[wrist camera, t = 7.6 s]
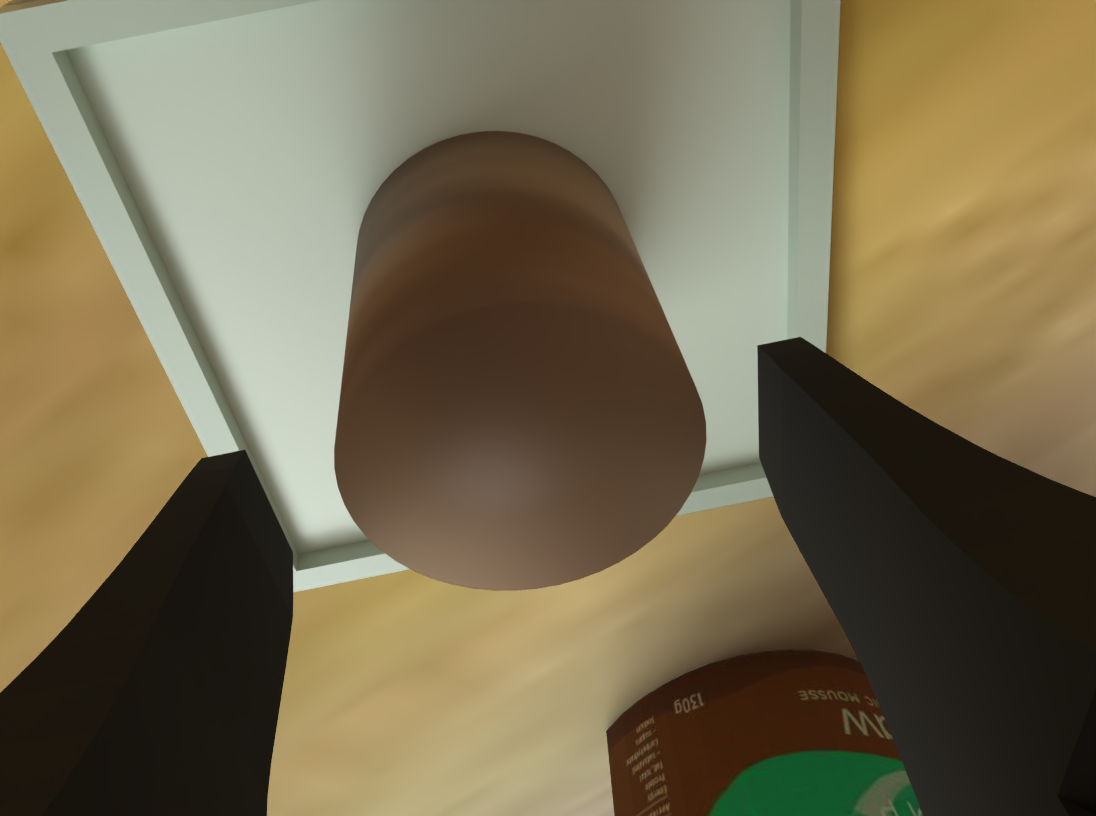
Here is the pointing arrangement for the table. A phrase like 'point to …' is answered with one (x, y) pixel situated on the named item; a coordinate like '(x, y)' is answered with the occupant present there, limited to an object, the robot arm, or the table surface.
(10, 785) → the robot arm
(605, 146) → the coaster
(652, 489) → the walnut cylinder
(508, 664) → the table surface
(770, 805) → the food container
